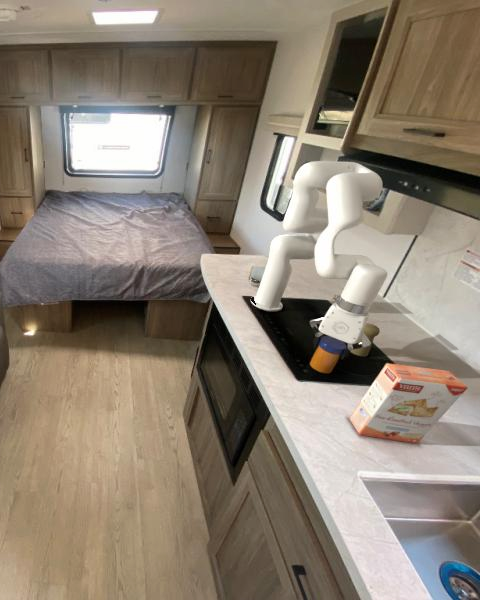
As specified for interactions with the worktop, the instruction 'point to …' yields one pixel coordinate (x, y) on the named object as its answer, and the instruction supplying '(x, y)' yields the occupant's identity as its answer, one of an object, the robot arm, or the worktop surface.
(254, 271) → the ceramic mug
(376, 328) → the cork
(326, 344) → the lid
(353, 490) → the worktop surface
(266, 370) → the worktop surface
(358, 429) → the cracker box
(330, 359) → the jar
